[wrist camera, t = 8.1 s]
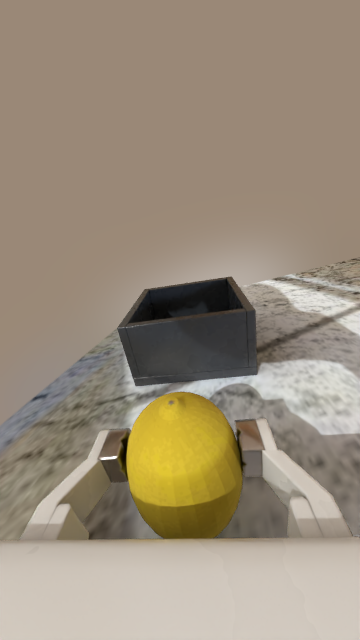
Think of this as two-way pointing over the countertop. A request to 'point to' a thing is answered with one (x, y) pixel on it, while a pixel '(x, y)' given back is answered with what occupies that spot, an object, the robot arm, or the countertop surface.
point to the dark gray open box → (190, 333)
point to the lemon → (184, 467)
